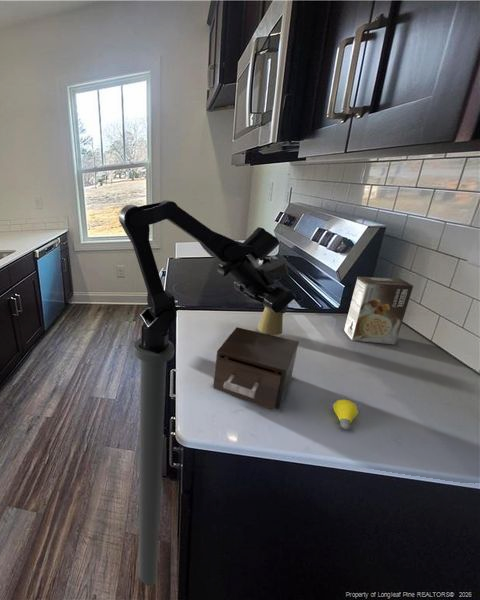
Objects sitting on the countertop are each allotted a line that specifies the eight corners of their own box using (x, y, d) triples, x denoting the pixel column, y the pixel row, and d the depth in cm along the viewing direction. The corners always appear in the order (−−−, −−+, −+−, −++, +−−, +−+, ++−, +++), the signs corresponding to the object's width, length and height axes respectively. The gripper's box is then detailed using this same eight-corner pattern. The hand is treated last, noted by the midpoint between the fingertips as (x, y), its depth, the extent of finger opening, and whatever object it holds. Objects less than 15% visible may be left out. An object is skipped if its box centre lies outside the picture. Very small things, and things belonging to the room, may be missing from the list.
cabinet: (278, 410, 62) (287, 370, 58) (213, 387, 70) (217, 350, 66) (291, 376, 71) (299, 341, 68) (232, 359, 79) (236, 327, 76)
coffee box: (384, 334, 86) (402, 277, 80) (395, 345, 81) (415, 285, 75) (342, 330, 89) (357, 275, 84) (350, 340, 84) (366, 283, 78)
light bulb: (349, 410, 60) (362, 401, 58) (349, 437, 57) (363, 428, 54) (329, 401, 62) (341, 392, 59) (328, 427, 58) (340, 418, 55)
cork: (274, 325, 93) (281, 289, 89) (286, 334, 87) (294, 297, 83) (253, 325, 93) (259, 290, 89) (264, 335, 87) (271, 298, 83)
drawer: (268, 423, 57) (275, 390, 55) (205, 399, 65) (208, 369, 62) (286, 378, 69) (292, 349, 67) (231, 362, 76) (235, 335, 74)
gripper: (295, 258, 73) (330, 299, 77) (249, 243, 90) (279, 277, 95) (257, 293, 75) (293, 331, 80) (219, 272, 93) (250, 304, 97)
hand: (278, 308), depth 88 cm, fingers closed on cork, 5 cm apart
